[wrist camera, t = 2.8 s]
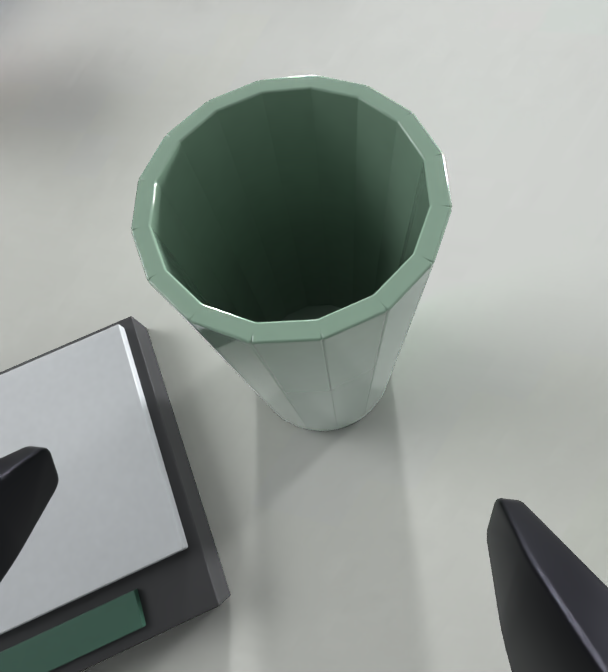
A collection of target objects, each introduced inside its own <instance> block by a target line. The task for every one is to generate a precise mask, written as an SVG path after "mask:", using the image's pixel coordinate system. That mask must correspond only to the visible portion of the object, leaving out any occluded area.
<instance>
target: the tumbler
mask: <svg viewBox="0 0 608 672" xmlns="http://www.w3.org/2000/svg"><path fill="white" fill-rule="evenodd" d="M451 208H452V203H451V197H450V191H449V185H448V178H447V172H446V166H445V160H444V156H443V154H442V152H441V150H440V149H439V148H438V146H437V145H436V143H435V142H434V141H433V139H432V138H431V137H430V135H429V134H428V133H427V131H426V130H425V128H424V127H423V126H422V124H421V123H420V122H419V120H418V119H417V117H416V116H415V115H414V114H413V113H412V112H411V111H410V110H408V109H406V108H405V107H403V106H401V105H400V104H398V103H396V102H395V101H393V100H391V99H390V98H388V97H386V96H384V95H383V94H381V93H379V92H378V91H376V90H374V89H373V88H371V87H369V86H366V85H363V84H358V83H353V82H348V81H343V80H338V79H333V78H328V77H323V76H318V75H314V76H313V75H305V76H295V77H285V78H275V79H265V80H260V81H255V82H253V83H250V84H248V85H245V86H243V87H241V88H238V89H236V90H233V91H231V92H228V93H226V94H223V95H221V96H218V97H216V98H213V99H211V100H209V101H208V102H206V103H204V104H203V105H202V106H201V107H199V108H198V109H197V110H196V111H194V112H193V113H192V114H191V115H190V116H188V117H187V118H186V119H185V120H183V121H182V122H181V123H180V124H179V125H177V126H176V127H175V128H174V129H172V130H171V131H170V132H169V133H167V136H165V137H164V139H163V140H162V142H161V143H160V145H159V147H158V148H157V150H156V152H155V153H154V155H153V157H152V158H151V160H150V162H149V163H148V165H147V166H146V168H145V170H144V171H143V173H142V175H141V176H140V178H139V181H138V186H137V193H136V200H135V207H134V213H133V220H132V227H131V229H132V235H133V238H134V241H135V244H136V247H137V251H138V254H139V257H140V260H141V263H142V266H143V269H144V272H145V275H146V278H147V280H148V281H149V283H150V284H151V285H152V286H153V287H154V289H155V290H156V291H157V292H158V293H159V294H160V295H161V296H162V297H163V298H164V299H165V300H166V301H167V302H168V303H169V304H170V305H171V306H172V307H173V308H174V309H175V310H176V311H177V312H178V313H179V314H180V315H181V316H182V317H183V318H184V319H185V320H186V322H187V323H188V324H189V325H190V326H191V327H192V328H193V329H194V330H195V331H196V332H197V333H198V334H199V335H200V336H201V337H202V338H203V339H204V340H205V341H206V342H207V343H208V344H209V345H210V346H211V347H212V348H213V349H214V350H215V351H216V352H217V353H218V355H219V356H220V357H221V358H222V359H223V360H224V361H225V362H226V363H227V364H228V365H229V366H230V367H231V368H232V369H233V370H234V371H235V372H236V373H237V374H238V375H239V376H240V377H241V378H242V379H243V380H244V381H245V382H246V383H247V384H248V385H249V386H250V388H251V389H252V390H253V391H254V392H255V393H256V394H257V395H258V396H259V397H260V398H261V399H262V400H263V401H264V402H265V403H266V404H267V405H268V406H269V407H270V408H271V409H272V410H273V411H274V412H275V413H276V414H277V415H278V416H279V417H280V418H281V419H283V420H285V421H287V422H289V423H291V424H293V425H295V426H297V427H300V428H304V429H308V430H313V431H330V430H336V429H340V428H344V427H346V426H349V425H351V424H353V423H355V422H357V421H359V420H360V419H361V418H363V417H364V416H366V415H367V414H368V413H369V412H370V411H371V410H372V409H373V408H374V406H375V405H376V404H377V403H378V401H379V400H380V399H381V398H382V396H383V394H384V392H385V389H386V387H387V384H388V381H389V379H390V376H391V374H392V371H393V368H394V366H395V363H396V361H397V358H398V355H399V353H400V350H401V348H402V345H403V342H404V340H405V337H406V335H407V332H408V329H409V327H410V324H411V322H412V319H413V316H414V314H415V311H416V309H417V306H418V303H419V301H420V298H421V296H422V293H423V290H424V288H425V285H426V283H427V280H428V277H429V275H430V272H431V270H432V267H433V264H434V262H435V259H436V256H437V253H438V250H439V247H440V244H441V241H442V238H443V235H444V232H445V229H446V226H447V223H448V220H449V217H450V214H451V211H452V210H451Z"/></svg>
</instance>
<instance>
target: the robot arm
mask: <svg viewBox="0 0 608 672" xmlns="http://www.w3.org/2000/svg"><path fill="white" fill-rule="evenodd" d="M58 481H59V477H58V473H57V470H56V467H55V464H54V461H53V458H52V455H51V452H50V451H49V450H48V449H47V448H44V447H36V446H27V447H24V448H21V449H19V450H17V451H15V452H13V453H11V454H8V455H6V456H4V457H2V458H0V582H1V581H2V580H3V578H4V577H5V575H6V574H7V572H8V571H9V569H10V568H11V566H12V565H13V563H14V562H15V560H16V559H17V557H18V555H19V553H20V552H21V550H22V548H23V547H24V545H25V543H26V542H27V540H28V538H29V536H30V534H31V533H32V531H33V529H34V527H35V526H36V524H37V522H38V520H39V519H40V517H41V515H42V513H43V511H44V510H45V508H46V506H47V504H48V503H49V501H50V499H51V497H52V496H53V494H54V492H55V490H56V488H57V485H58ZM487 544H488V550H489V556H490V563H491V569H492V576H493V582H494V588H495V595H496V601H497V607H498V614H499V620H500V625H501V631H502V635H503V639H504V643H505V648H506V651H507V655H508V659H509V663H510V666H511V670H512V672H608V587H607V586H606V585H605V584H604V583H603V582H602V581H601V580H600V579H599V578H598V577H597V576H596V575H595V574H594V573H593V572H592V571H591V570H590V569H589V568H588V567H587V566H586V565H585V564H584V563H583V562H582V561H581V560H580V559H579V558H578V557H577V556H576V555H575V554H574V553H573V552H572V551H571V550H570V549H569V548H568V547H567V546H566V545H565V544H564V543H563V542H562V541H561V540H560V539H559V538H558V537H557V536H556V535H555V534H554V533H553V532H552V531H551V530H550V529H549V528H548V527H547V526H546V525H545V524H544V523H543V522H542V521H541V520H540V519H539V518H538V517H537V516H536V515H535V514H534V513H533V512H532V511H531V510H530V509H529V508H528V507H527V506H526V505H525V504H524V503H523V502H521V501H519V500H512V499H503V498H500V499H497V500H496V502H495V504H494V507H493V511H492V514H491V518H490V522H489V525H488V529H487Z"/></svg>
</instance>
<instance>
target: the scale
mask: <svg viewBox="0 0 608 672" xmlns="http://www.w3.org/2000/svg"><path fill="white" fill-rule="evenodd" d="M27 446H36V447H44V448H47V449H48V450H49V451H50V452H51V455H52V458H53V461H54V464H55V467H56V470H57V473H58V477H59V481H58V485H57V488H56V490H55V492H54V494H53V496H52V497H51V499H50V501H49V503H48V504H47V506H46V508H45V510H44V511H43V513H42V515H41V517H40V519H39V520H38V522H37V524H36V526H35V527H34V529H33V531H32V533H31V534H30V536H29V538H28V540H27V542H26V543H25V545H24V547H23V548H22V550H21V552H20V553H19V555H18V557H17V559H16V560H15V562H14V563H13V565H12V566H11V568H10V569H9V571H8V572H7V574H6V575H5V577H4V578H3V580H2V581H1V582H0V672H80V671H82V670H84V669H87V668H89V667H91V666H93V665H95V664H97V663H99V662H101V661H104V660H106V659H108V658H110V657H112V656H114V655H116V654H118V653H120V652H123V651H125V650H127V649H129V648H131V647H133V646H135V645H137V644H139V643H142V642H144V641H146V640H148V639H150V638H152V637H154V636H156V635H158V634H161V633H163V632H165V631H167V630H169V629H171V628H173V627H175V626H178V625H180V624H182V623H184V622H186V621H188V620H190V619H192V618H194V617H197V616H199V615H201V614H203V613H205V612H207V611H209V610H211V609H213V608H216V607H218V606H219V605H220V604H221V603H223V602H224V601H225V600H226V599H227V598H228V597H229V596H230V591H229V588H228V585H227V582H226V579H225V575H224V572H223V569H222V566H221V563H220V560H219V556H218V553H217V550H216V547H215V544H214V540H213V537H212V534H211V531H210V528H209V525H208V521H207V518H206V515H205V512H204V509H203V506H202V502H201V499H200V496H199V493H198V490H197V487H196V483H195V480H194V477H193V474H192V471H191V467H190V464H189V461H188V458H187V455H186V452H185V448H184V445H183V442H182V439H181V436H180V433H179V429H178V426H177V423H176V420H175V417H174V413H173V410H172V407H171V404H170V401H169V398H168V394H167V391H166V388H165V385H164V382H163V379H162V375H161V372H160V369H159V366H158V363H157V359H156V356H155V353H154V350H153V347H152V344H151V340H150V337H149V334H148V331H147V328H146V327H144V326H143V325H142V324H141V323H139V322H138V321H137V320H136V319H134V318H133V317H132V316H130V317H128V318H126V319H123V320H121V321H119V322H117V323H114V324H112V325H110V326H107V327H105V328H103V329H100V330H98V331H96V332H93V333H91V334H89V335H86V336H84V337H82V338H79V339H77V340H75V341H72V342H70V343H68V344H65V345H63V346H61V347H58V348H56V349H54V350H51V351H49V352H47V353H44V354H42V355H40V356H37V357H35V358H33V359H30V360H28V361H26V362H23V363H21V364H19V365H16V366H14V367H12V368H10V369H7V370H5V371H3V372H0V458H2V457H4V456H6V455H8V454H11V453H13V452H15V451H17V450H19V449H21V448H24V447H27Z"/></svg>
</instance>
